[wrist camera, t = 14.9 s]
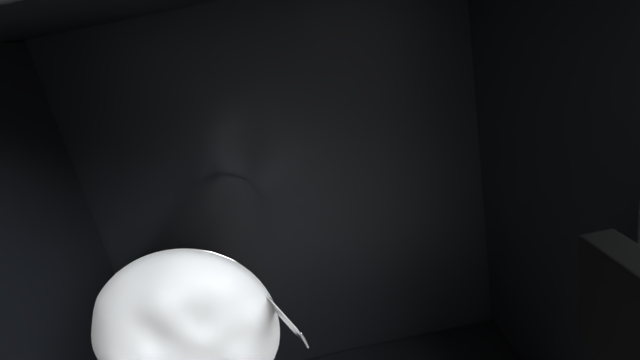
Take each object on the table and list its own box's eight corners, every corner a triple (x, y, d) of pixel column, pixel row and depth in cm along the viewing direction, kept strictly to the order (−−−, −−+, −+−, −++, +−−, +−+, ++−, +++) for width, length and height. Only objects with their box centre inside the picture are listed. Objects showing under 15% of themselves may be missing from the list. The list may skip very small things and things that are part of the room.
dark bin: (3, 21, 17) (-331, 16, 8) (476, -74, 17) (703, -189, 8) (152, 395, 22) (64, 648, 13) (503, 321, 23) (651, 520, 14)
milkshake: (315, 229, 20) (344, 420, 10) (199, 274, 20) (124, 501, 10) (272, 132, 18) (261, 249, 9) (149, 182, 18) (6, 349, 9)
